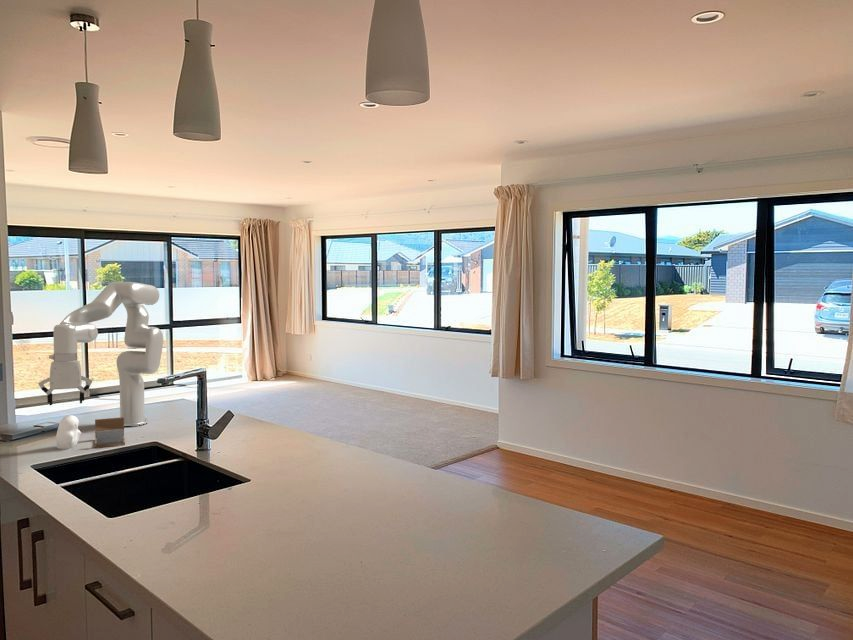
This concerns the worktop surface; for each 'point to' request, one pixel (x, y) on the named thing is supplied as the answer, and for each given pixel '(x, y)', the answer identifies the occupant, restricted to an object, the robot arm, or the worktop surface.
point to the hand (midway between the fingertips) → (66, 403)
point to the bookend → (109, 436)
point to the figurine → (68, 433)
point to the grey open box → (109, 428)
